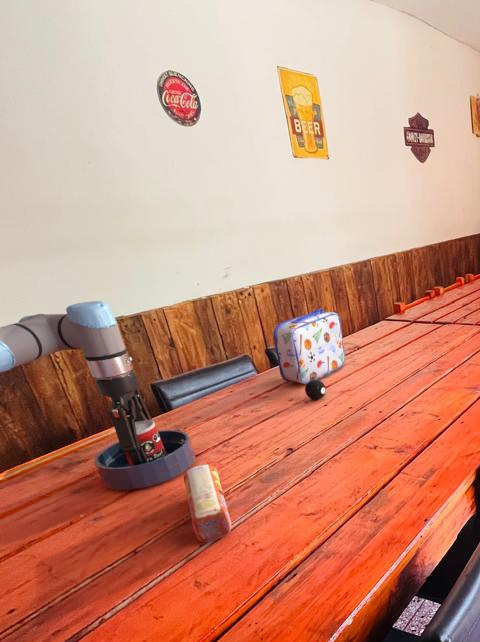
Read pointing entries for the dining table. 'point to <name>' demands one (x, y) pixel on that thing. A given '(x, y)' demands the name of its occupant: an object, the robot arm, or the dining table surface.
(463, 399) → the dining table surface
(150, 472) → the bowl
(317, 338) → the lunch box
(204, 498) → the snack package
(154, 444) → the canned food
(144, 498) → the dining table surface
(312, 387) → the billiard ball
